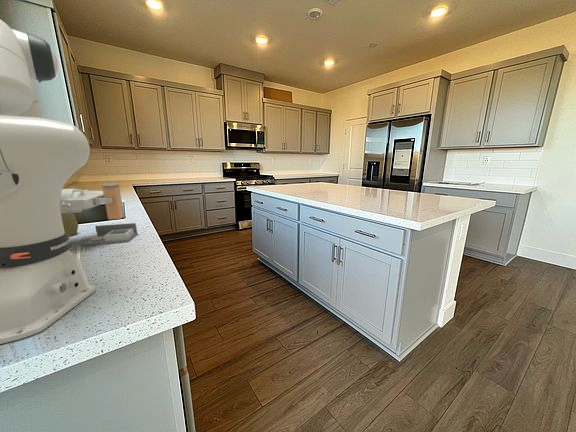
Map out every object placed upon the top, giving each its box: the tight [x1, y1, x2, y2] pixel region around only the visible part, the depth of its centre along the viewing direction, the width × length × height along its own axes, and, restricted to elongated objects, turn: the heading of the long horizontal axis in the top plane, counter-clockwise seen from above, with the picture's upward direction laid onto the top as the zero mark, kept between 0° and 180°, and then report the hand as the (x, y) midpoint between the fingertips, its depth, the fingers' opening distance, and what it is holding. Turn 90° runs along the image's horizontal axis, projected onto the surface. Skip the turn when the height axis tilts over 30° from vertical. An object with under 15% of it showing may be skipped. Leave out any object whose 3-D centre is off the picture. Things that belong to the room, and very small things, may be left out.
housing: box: [84, 222, 138, 247], centre depth 93 cm, size 10×14×5 cm
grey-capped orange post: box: [101, 183, 125, 220], centre depth 91 cm, size 5×5×13 cm
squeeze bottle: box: [61, 213, 79, 237], centre depth 99 cm, size 8×8×18 cm
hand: (115, 198), depth 91 cm, fingers closed on grey-capped orange post, 4 cm apart
